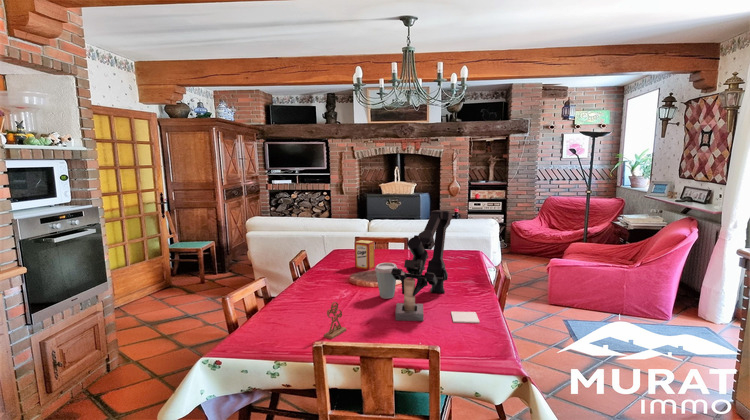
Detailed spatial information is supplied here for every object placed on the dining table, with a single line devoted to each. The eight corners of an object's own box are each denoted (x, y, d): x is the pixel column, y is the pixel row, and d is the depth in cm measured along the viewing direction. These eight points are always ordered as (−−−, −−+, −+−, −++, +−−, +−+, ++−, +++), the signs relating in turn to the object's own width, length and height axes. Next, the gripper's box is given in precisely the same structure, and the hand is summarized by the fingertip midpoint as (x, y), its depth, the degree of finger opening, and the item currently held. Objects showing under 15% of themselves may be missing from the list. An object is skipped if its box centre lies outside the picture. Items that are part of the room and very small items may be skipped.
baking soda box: (355, 268, 236) (354, 241, 234) (361, 265, 242) (360, 239, 240) (368, 270, 231) (368, 242, 229) (374, 267, 237) (374, 240, 235)
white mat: (451, 312, 166) (451, 311, 166) (475, 313, 165) (475, 312, 165) (453, 322, 156) (453, 321, 156) (479, 323, 155) (479, 321, 155)
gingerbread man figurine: (338, 328, 152) (337, 297, 151) (346, 330, 150) (346, 299, 149) (323, 336, 145) (322, 304, 143) (331, 339, 143) (330, 307, 141)
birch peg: (404, 308, 166) (404, 278, 164) (415, 308, 165) (414, 278, 164) (404, 312, 162) (403, 281, 160) (415, 312, 161) (415, 281, 159)
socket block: (396, 310, 170) (396, 303, 169) (422, 310, 169) (422, 303, 168) (395, 320, 159) (395, 313, 158) (423, 321, 158) (423, 313, 157)
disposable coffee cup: (396, 301, 180) (395, 268, 178) (372, 299, 182) (372, 267, 181) (399, 293, 191) (399, 262, 189) (377, 292, 193) (376, 261, 191)
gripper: (392, 249, 168) (380, 282, 160) (435, 253, 159) (424, 288, 151) (400, 263, 176) (389, 295, 168) (441, 268, 167) (432, 302, 159)
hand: (408, 294), depth 161 cm, fingers closed on birch peg, 4 cm apart
